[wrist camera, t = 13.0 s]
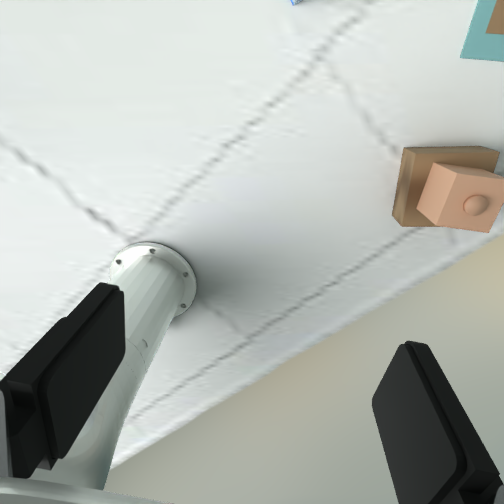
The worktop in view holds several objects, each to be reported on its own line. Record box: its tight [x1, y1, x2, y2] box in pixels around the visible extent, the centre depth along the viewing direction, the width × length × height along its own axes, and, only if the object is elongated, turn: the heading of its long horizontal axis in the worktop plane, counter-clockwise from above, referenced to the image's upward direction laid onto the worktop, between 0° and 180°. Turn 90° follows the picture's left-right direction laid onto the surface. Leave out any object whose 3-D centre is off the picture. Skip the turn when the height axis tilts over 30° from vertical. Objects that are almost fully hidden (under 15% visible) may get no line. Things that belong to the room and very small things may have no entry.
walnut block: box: [392, 146, 500, 227], centre depth 36 cm, size 8×8×4 cm
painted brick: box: [416, 162, 504, 233], centre depth 31 cm, size 5×5×6 cm
